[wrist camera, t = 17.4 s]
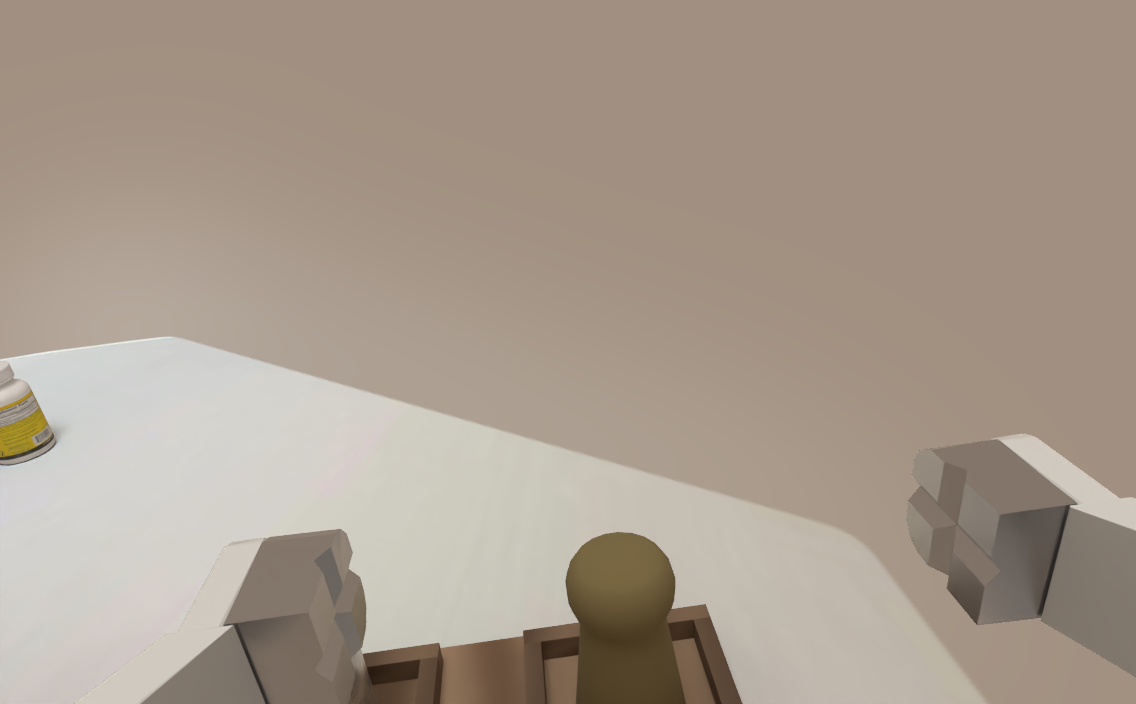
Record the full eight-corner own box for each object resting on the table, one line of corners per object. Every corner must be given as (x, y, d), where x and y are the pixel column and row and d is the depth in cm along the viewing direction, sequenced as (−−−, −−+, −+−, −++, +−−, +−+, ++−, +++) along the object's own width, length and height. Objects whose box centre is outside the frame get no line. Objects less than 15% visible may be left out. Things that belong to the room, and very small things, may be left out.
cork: (618, 651, 41) (604, 499, 36) (710, 703, 37) (707, 542, 32) (552, 728, 36) (526, 568, 32) (647, 795, 33) (634, 625, 28)
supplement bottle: (-7, 454, 73) (-51, 371, 69) (52, 432, 76) (14, 352, 72) (-2, 473, 69) (-48, 387, 65) (60, 449, 72) (20, 366, 68)
